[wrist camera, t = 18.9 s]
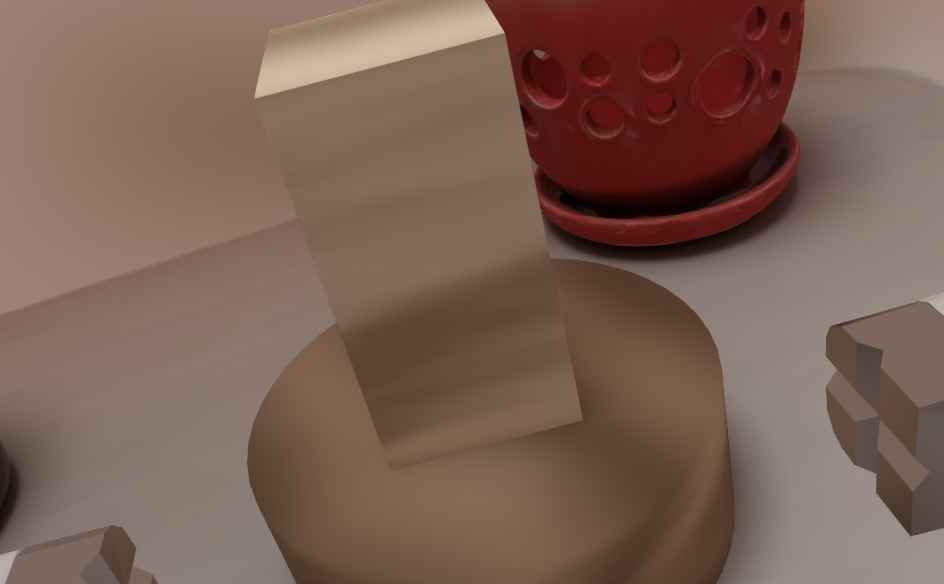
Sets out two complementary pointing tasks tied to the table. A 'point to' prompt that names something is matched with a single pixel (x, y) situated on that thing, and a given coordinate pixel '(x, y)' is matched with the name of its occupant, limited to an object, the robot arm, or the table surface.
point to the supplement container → (4, 473)
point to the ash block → (422, 220)
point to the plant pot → (655, 111)
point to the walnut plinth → (516, 463)
